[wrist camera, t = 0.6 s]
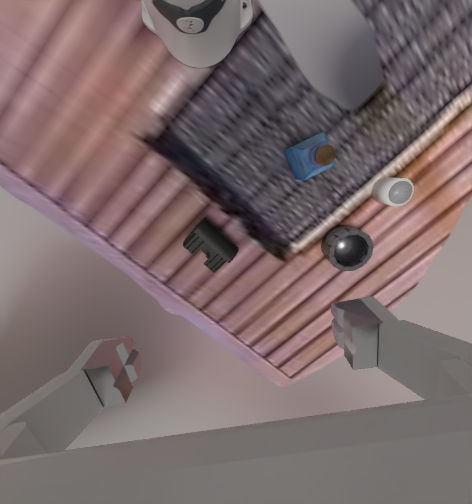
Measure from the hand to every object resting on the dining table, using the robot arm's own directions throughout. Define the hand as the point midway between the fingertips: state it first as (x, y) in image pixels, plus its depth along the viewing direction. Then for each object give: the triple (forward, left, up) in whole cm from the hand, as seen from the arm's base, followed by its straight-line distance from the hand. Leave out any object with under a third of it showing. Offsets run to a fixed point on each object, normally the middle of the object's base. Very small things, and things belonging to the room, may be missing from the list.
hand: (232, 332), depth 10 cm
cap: (-1, +33, -44) cm, 55 cm away
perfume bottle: (-8, +15, -44) cm, 48 cm away
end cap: (+9, -5, -44) cm, 46 cm away
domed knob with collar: (+11, +25, -44) cm, 52 cm away
